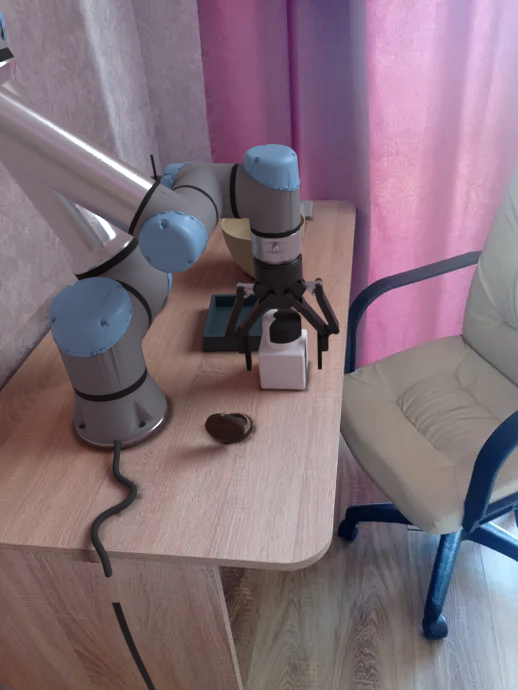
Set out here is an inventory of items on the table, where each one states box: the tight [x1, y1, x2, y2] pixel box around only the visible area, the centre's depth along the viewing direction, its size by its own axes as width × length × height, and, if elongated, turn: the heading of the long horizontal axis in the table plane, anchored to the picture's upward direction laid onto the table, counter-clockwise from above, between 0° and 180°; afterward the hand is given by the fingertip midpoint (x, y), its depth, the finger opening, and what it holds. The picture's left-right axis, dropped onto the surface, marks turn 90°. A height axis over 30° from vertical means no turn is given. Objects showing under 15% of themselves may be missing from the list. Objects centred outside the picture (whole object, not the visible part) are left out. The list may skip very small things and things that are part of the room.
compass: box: [203, 410, 254, 443], centre depth 91 cm, size 8×8×7 cm
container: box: [257, 307, 309, 391], centre depth 100 cm, size 8×8×13 cm
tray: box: [201, 292, 271, 352], centre depth 115 cm, size 15×16×3 cm
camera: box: [300, 200, 314, 219], centre depth 149 cm, size 9×12×15 cm
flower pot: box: [220, 213, 306, 279], centre depth 129 cm, size 18×18×12 cm
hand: (284, 365), depth 103 cm, fingers open, 12 cm apart
